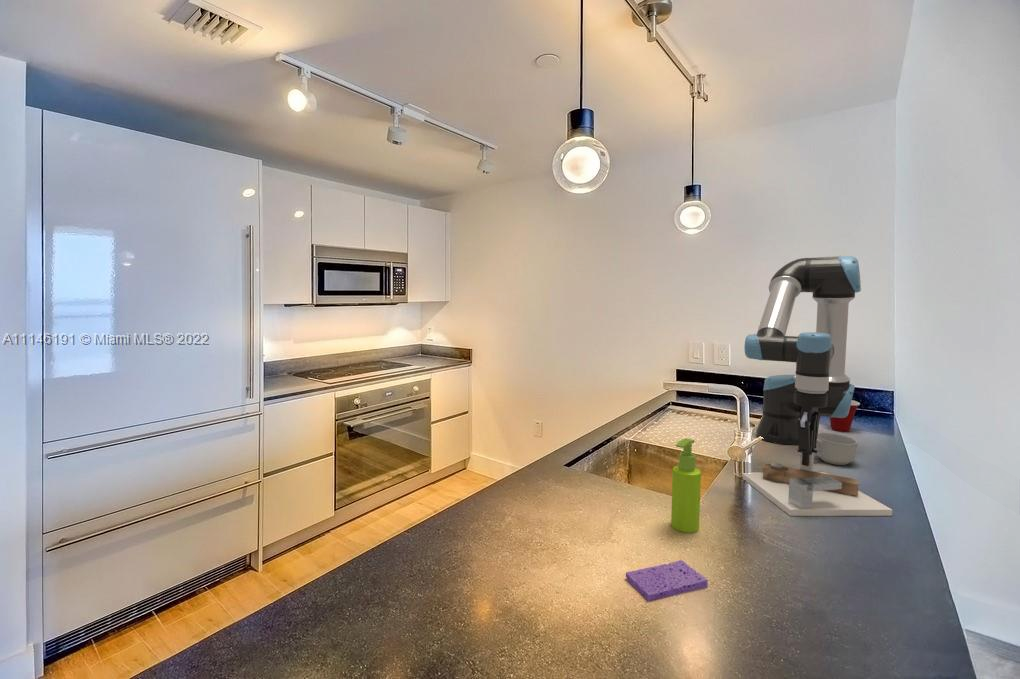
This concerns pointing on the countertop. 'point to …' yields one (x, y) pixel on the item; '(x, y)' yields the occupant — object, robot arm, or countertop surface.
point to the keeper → (809, 489)
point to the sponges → (666, 580)
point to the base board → (818, 500)
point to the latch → (785, 473)
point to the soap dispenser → (686, 490)
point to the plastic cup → (844, 419)
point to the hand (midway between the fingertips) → (805, 475)
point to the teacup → (836, 448)
